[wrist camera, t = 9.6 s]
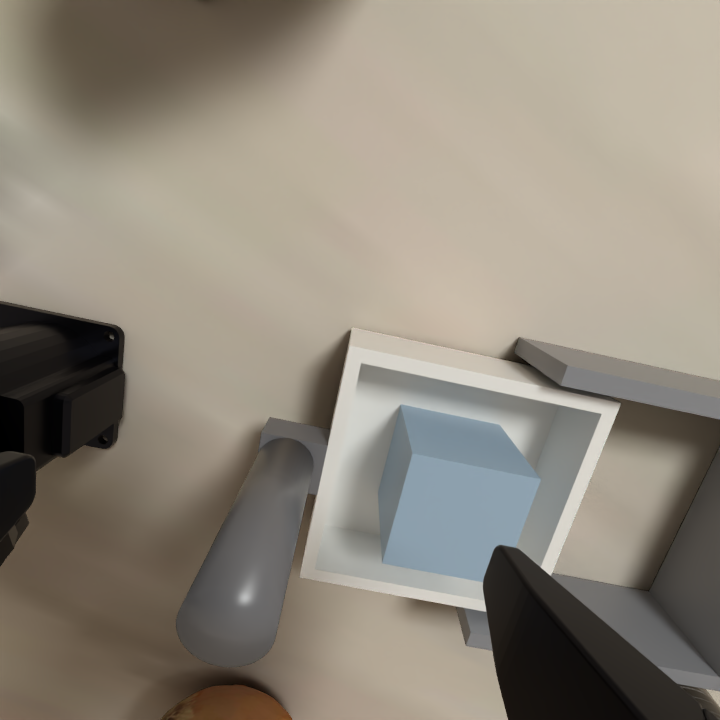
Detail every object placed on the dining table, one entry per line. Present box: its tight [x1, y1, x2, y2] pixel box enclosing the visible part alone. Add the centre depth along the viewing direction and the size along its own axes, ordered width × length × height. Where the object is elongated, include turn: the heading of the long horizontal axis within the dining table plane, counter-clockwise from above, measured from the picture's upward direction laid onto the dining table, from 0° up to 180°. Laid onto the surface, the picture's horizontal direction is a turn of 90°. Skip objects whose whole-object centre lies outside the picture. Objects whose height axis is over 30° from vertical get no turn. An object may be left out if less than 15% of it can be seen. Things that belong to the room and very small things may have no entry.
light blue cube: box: [378, 404, 541, 582], centre depth 19 cm, size 5×5×5 cm
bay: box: [456, 337, 720, 691], centre depth 20 cm, size 13×14×5 cm
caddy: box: [176, 327, 621, 667], centre depth 16 cm, size 14×11×12 cm
